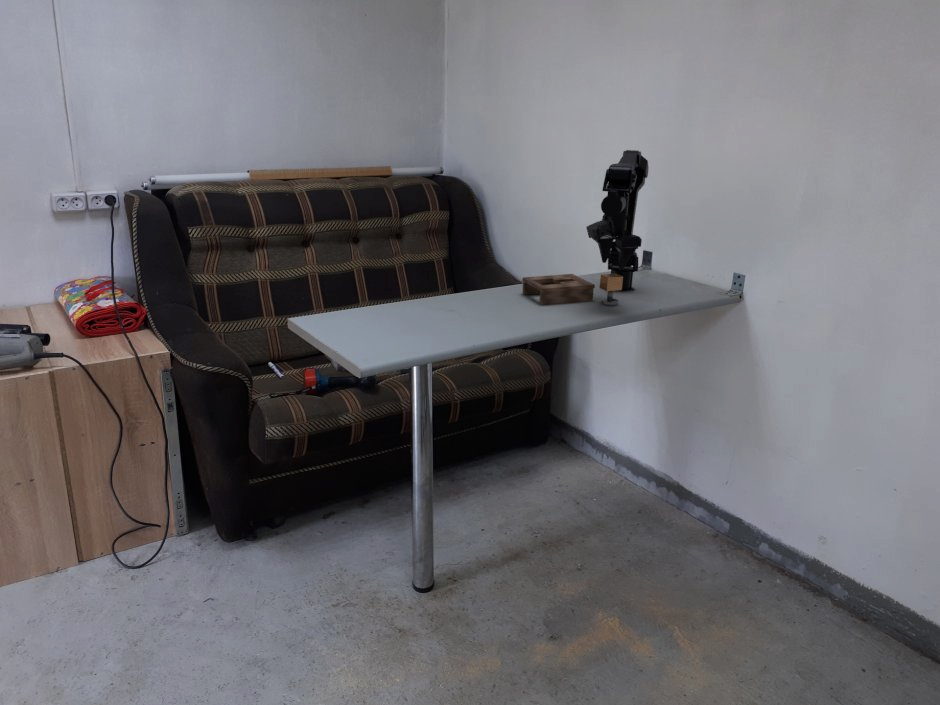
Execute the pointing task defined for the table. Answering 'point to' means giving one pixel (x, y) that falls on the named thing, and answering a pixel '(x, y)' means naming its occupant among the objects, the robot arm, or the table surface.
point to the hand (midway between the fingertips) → (612, 266)
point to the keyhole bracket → (559, 288)
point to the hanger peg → (610, 287)
